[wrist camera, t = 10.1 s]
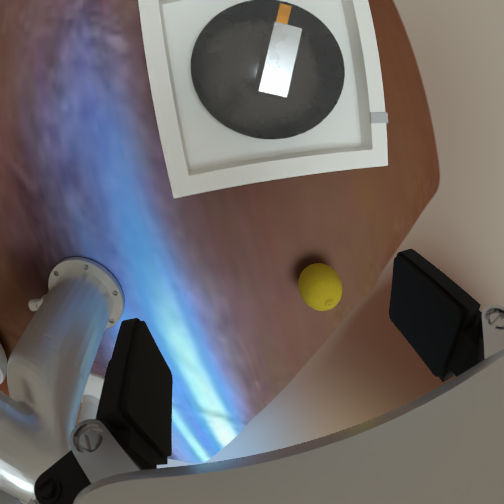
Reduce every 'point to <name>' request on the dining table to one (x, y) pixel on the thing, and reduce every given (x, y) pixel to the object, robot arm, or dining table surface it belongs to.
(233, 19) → the dial
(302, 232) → the dining table surface
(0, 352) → the cereal bowl
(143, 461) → the robot arm
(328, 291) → the lemon
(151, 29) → the dial housing
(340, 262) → the dining table surface
